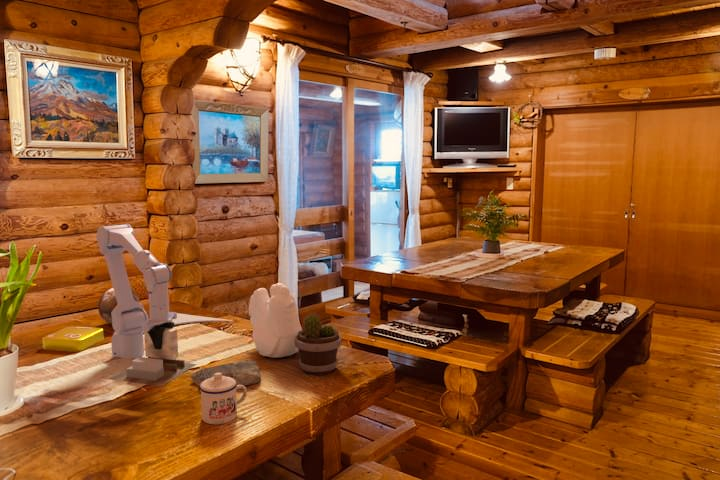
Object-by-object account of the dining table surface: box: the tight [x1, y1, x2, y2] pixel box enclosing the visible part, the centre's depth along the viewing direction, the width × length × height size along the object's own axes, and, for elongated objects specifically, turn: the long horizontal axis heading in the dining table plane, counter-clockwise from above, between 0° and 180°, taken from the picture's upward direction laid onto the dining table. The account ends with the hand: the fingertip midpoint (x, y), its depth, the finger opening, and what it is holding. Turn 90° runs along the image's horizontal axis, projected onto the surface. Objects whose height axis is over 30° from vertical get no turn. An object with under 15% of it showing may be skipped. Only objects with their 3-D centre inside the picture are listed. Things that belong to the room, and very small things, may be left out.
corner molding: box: [143, 311, 234, 334], centre depth 217 cm, size 30×2×30 cm
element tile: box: [41, 325, 105, 353], centre depth 201 cm, size 15×15×5 cm
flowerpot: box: [294, 310, 343, 376], centre depth 175 cm, size 14×15×20 cm
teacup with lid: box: [199, 373, 248, 425], centre depth 144 cm, size 12×9×12 cm
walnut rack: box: [108, 357, 197, 387], centre depth 172 cm, size 18×18×3 cm
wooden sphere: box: [97, 287, 141, 325], centre depth 223 cm, size 15×15×15 cm
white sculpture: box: [248, 282, 303, 358], centre depth 191 cm, size 25×16×25 cm, turn 31°
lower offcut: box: [125, 365, 164, 381], centre depth 168 cm, size 10×4×2 cm, turn 73°
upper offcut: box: [131, 356, 163, 372], centre depth 168 cm, size 8×4×2 cm, turn 73°
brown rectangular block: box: [143, 327, 179, 360], centre depth 175 cm, size 10×2×9 cm, turn 73°
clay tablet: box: [190, 360, 262, 387], centre depth 167 cm, size 14×5×20 cm
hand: (161, 347), depth 175 cm, fingers closed on brown rectangular block, 2 cm apart
